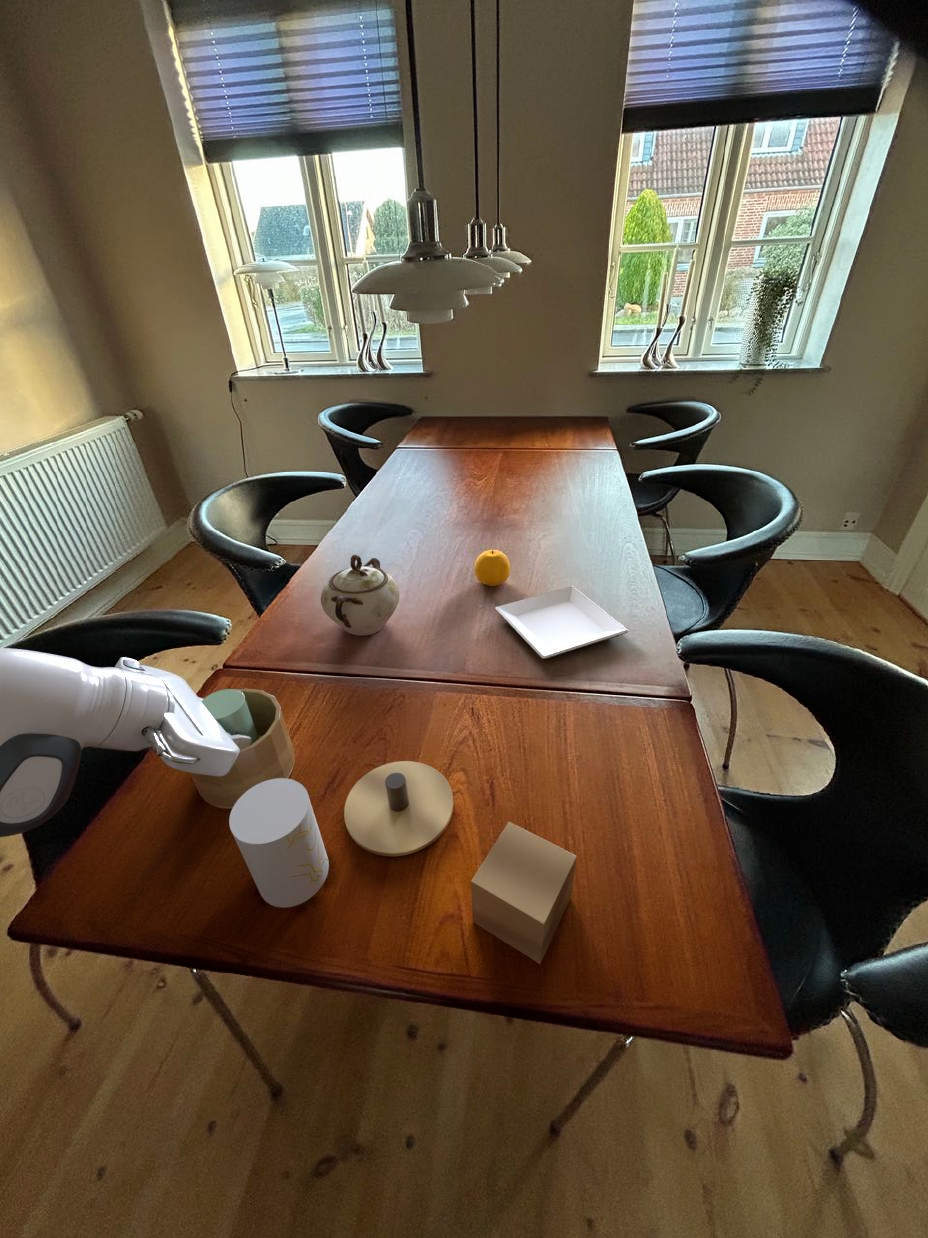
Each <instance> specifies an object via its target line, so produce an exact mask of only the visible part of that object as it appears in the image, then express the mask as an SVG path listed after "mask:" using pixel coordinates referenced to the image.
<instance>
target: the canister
mask: <svg viewBox="0 0 928 1238" xmlns="http://www.w3.org/2000/svg"><path fill="white" fill-rule="evenodd" d="M239 690H240V689H236V688H226V689H221V690H217V691H214V692H212V693H210V694H209V695H207V696H206V697H204V698H202V699H203V700H202V701H201V703H202V704H203V705H204V706H205V708H206V709H207V710H208V711H209V713H210V714H211V715H212V716H213V718H214V719H215V720H217V721H218V723H219V724H220V725H221V726H222V728H223V729H224V730H225V731H226V733H229V734H230V735H231V736H232V735H235V733H236V732H242V733H246V734H247V735H248V736H249V737H250V738H251V739H252V741H251V743H250V745H252V744H253V743H255V742H256V741H257V740H258V739H259V737H258V734H257V731H256V728H255V725H254V722H253V719H252V717H251V714H250V711H249V708H248V705H247V702H246V699H245V696H244V694H243V693H242V692H241V691H239ZM250 745H249V746H250Z"/></svg>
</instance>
